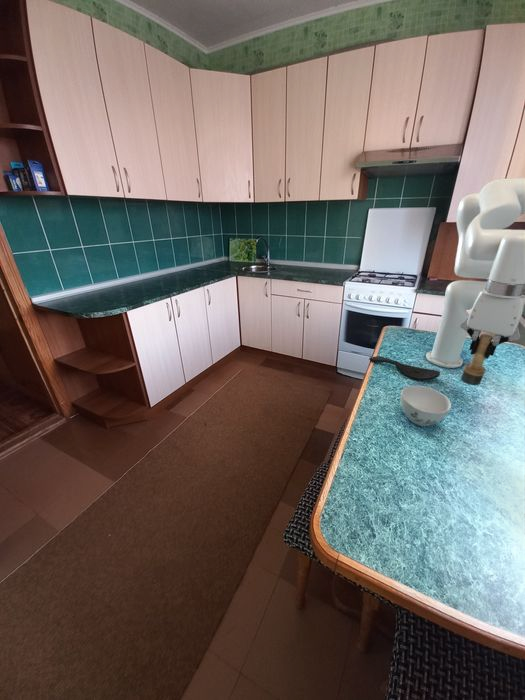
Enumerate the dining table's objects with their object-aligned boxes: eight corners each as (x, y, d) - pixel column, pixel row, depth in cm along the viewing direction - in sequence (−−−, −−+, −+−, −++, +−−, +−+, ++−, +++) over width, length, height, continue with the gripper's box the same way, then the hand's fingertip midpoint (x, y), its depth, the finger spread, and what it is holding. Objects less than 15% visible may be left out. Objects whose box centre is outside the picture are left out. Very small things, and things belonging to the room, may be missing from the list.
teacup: (439, 441, 77) (447, 418, 73) (390, 422, 84) (396, 400, 80) (448, 412, 87) (456, 390, 84) (404, 397, 94) (409, 376, 91)
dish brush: (460, 375, 85) (475, 331, 79) (478, 378, 84) (495, 334, 77) (462, 383, 82) (478, 338, 75) (481, 386, 80) (499, 341, 73)
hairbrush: (374, 349, 118) (443, 366, 103) (373, 357, 120) (441, 375, 104) (365, 357, 113) (437, 376, 97) (364, 365, 115) (435, 385, 99)
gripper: (550, 291, 68) (519, 359, 76) (469, 280, 78) (450, 341, 86) (547, 298, 63) (515, 370, 71) (462, 285, 73) (442, 350, 82)
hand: (480, 354), depth 79 cm, fingers closed on dish brush, 2 cm apart
